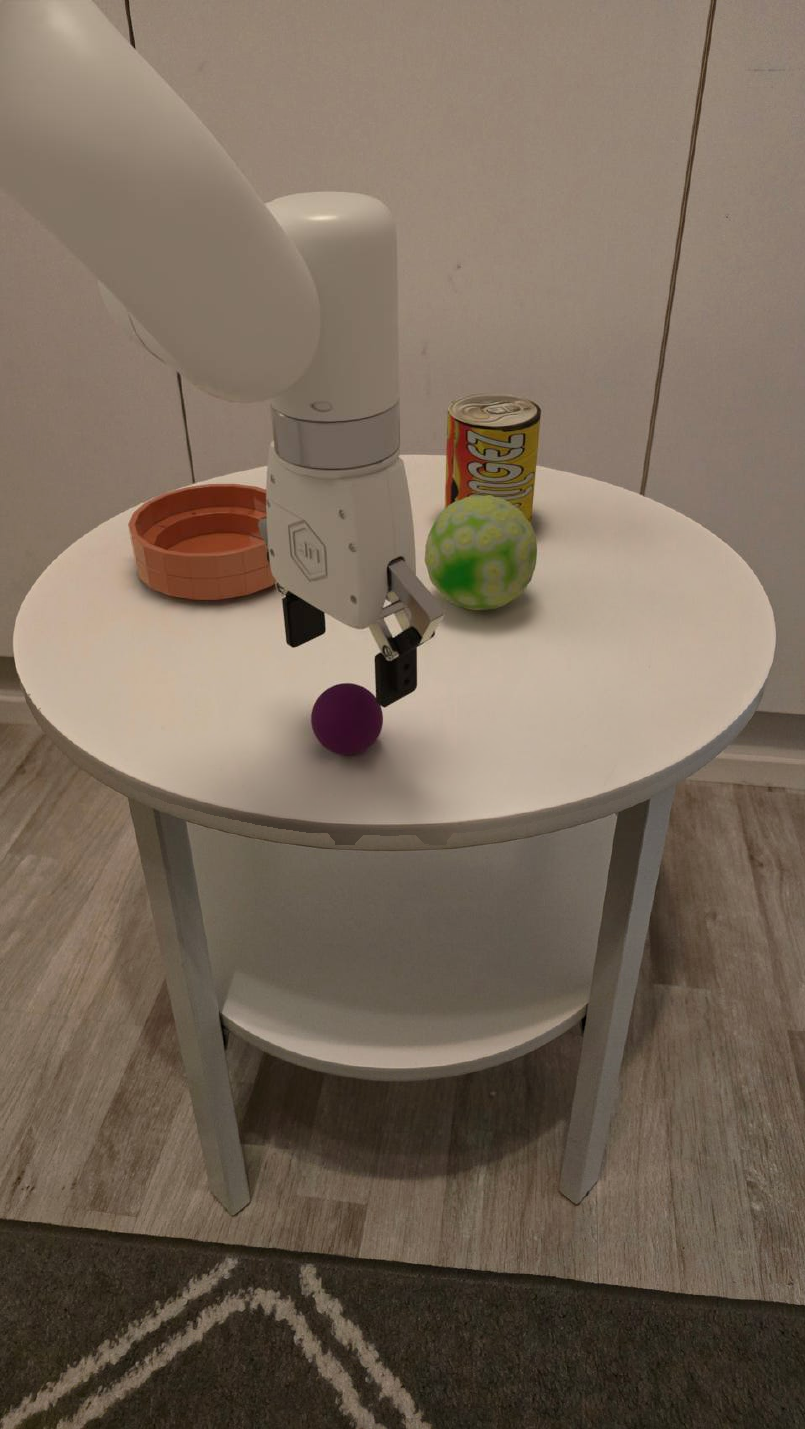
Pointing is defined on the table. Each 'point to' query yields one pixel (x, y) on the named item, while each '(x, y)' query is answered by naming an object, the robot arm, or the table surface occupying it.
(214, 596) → the bowl
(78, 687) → the table surface
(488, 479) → the beverage can
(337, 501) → the robot arm
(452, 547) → the decorative ball
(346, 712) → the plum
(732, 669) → the table surface
